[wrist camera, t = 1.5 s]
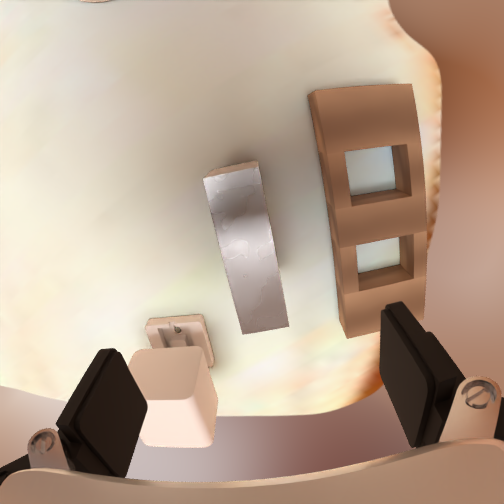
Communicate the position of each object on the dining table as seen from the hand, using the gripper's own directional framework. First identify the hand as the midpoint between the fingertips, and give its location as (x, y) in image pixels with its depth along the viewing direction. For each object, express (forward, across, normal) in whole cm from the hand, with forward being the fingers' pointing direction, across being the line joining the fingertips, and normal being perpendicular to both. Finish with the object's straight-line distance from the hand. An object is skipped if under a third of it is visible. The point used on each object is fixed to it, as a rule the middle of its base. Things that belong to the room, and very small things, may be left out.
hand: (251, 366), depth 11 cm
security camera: (+17, +9, +10) cm, 22 cm away
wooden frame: (+17, -10, 0) cm, 19 cm away
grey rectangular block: (+17, 0, -1) cm, 17 cm away
